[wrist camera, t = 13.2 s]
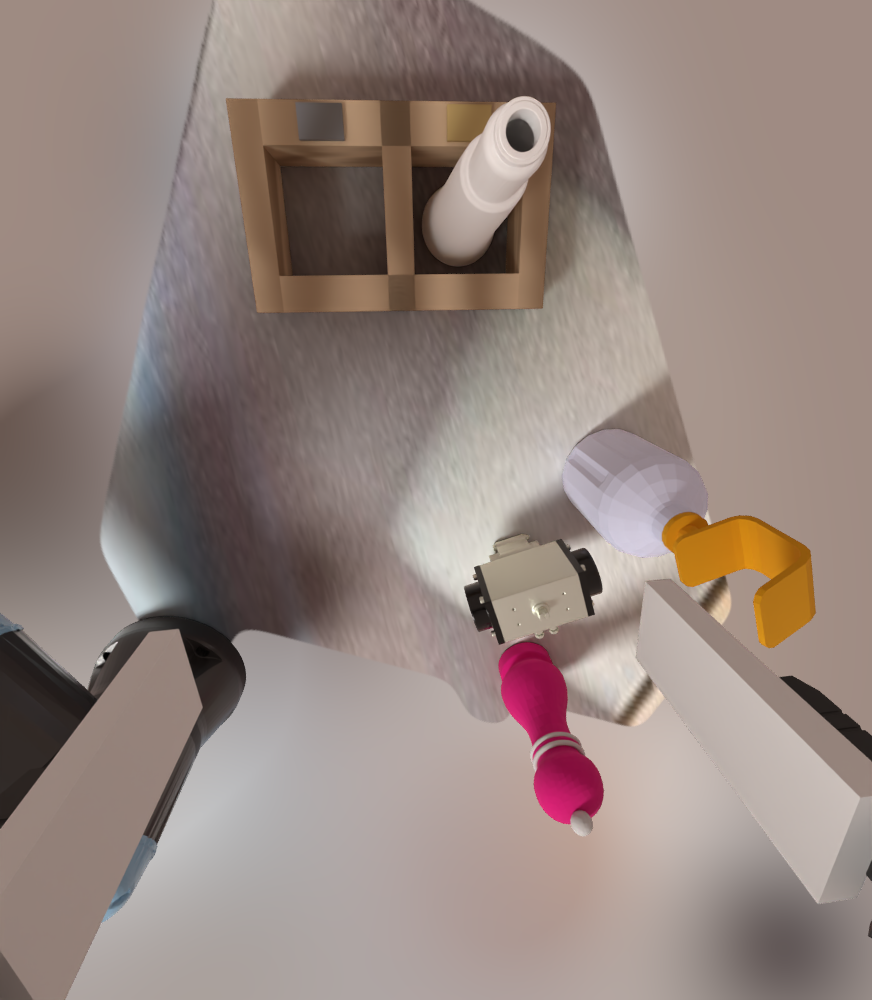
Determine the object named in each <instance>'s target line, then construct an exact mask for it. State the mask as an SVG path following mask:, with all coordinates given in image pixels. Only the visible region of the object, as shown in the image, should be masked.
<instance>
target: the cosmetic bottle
mask: <svg viewBox="0 0 872 1000" xmlns="http://www.w3.org/2000/svg"><path fill="white" fill-rule="evenodd" d="M550 133H551V124H550V119H549V115H548V113H547V111H546V109H545V108H544V106H543V105H542V104H541V103H540V102H539V101H538V100H536V99H534V98H532V97H528V96H520V97H517V98H514V99H512V100H511V101H509V102H507V103H505V104H503V105H502V106H500V107H499V108H498V109H497V110H496V111H495V112H494V113H493V114H492V115H491V117H490V118H489V120H488V122H487V124H486V126H485V128H484V131H483V133H482V134H480V135H478V136H477V137H476V138H474V139H473V140H472V141H471V143H470V144H469V145H468V147H467V148H466V149H465V151H464V152H463V154H462V155H461V157H460V159H459V160H458V162H457V164H456V165H455V167H454V169H453V171H452V173H451V174H450V176H449V178H448V180H447V181H446V183H445V185H444V186H442V187H441V188H439V189H438V190H437V191H436V192H435V193H434V194H433V195H432V196H431V197H430V199H429V200H428V202H427V204H426V206H425V209H424V212H423V217H422V233H423V237H424V241H425V243H426V245H427V247H428V249H429V250H430V252H431V253H432V254H433V256H434V257H436V258H437V259H438V260H439V261H441V262H443V263H444V264H447V265H450V266H456V267H459V266H466V265H469V264H472V263H474V262H475V261H477V260H478V259H480V258H481V257H482V256H483V255H484V254H485V252H486V251H487V250H488V248H489V246H490V244H491V242H492V239H493V236H494V232H495V231H496V229H497V228H498V227H499V226H500V224H501V223H502V222H503V221H504V220H505V218H506V217H507V216H508V215H509V213H510V212H511V211H512V209H513V208H514V207H515V205H516V204H517V203H518V201H519V200H520V198H521V197H522V195H523V193H524V191H525V189H526V186H527V183H528V179H529V178H530V177H531V176H532V175H533V174H534V173H535V172H536V171H537V170H538V168H539V167H540V165H541V164H542V162H543V160H544V158H545V155H546V152H547V148H548V143H549V139H550Z"/></svg>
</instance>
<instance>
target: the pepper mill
mask: <svg viewBox="0 0 872 1000" xmlns="http://www.w3.org/2000/svg"><path fill="white" fill-rule="evenodd" d="M499 672H500V675H501V679H502V685H501V694H502V698H503V701H504V703H505V706H506V708H507V709H508V711H509V712H510V714H511V715H512V716H513V717H514V719H515V720H516V721H517V722H518V723H519V724H520V725H522V727H523V728H524V729H525V730H526V731H527V733H528V734H529V737H530V739H531V742H532V749H531V752H530V757H531V761H532V762H533V768H534V770H535V772H536V773H535V776H534V789H535V793H536V797H537V799H538V801H539V804H540V805H541V807H542V808H543V810H544V811H545V812H546V813H547V814H548V815H549V816H550V817H551V818H553V819H554V820H556V821H558V822H561V823H563V824H571V827H572V828H573V830H574V832H575V833H577V834H578V835H580V836H587V835H589V834H590V833H591V831H592V829H593V823H592V819H591V818H592V817H593V816H594V815H595V814H596V813H597V811H598V810H599V809H600V807H601V805H602V801H603V793H604V789H603V783H602V779H601V776H600V773H599V771H598V769H597V768H596V767H595V765H594V764H593V763H592V761H591V760H589V759H588V758H587V757H585V753H584V750H583V748H582V746H581V743H580V741H579V740H578V739H577V737H575V736H574V735H572V734H571V733H570V731H569V729H568V726H567V722H566V709H567V701H568V697H567V687H566V683H565V680H564V677H563V675H562V674H561V672H560V671H559V669H558V668H556V667H555V666H554V665H553V663H552V661H551V659H550V656H549V654H548V652H547V651H546V650H545V648H543V647H542V646H540V645H538V644H535V643H530V642H524V643H519V644H516V645H514V646H512V647H510V648H508V649H507V650H506V651H505V652H504V653H503V654H502V656H501V658H500V660H499Z"/></svg>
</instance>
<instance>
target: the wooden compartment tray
mask: <svg viewBox="0 0 872 1000" xmlns="http://www.w3.org/2000/svg"><path fill="white" fill-rule="evenodd" d="M505 103H507V102H458V101H382V100H306V99H230V98H226V104H227V110H228V117H229V124H230V131H231V138H232V145H233V151H234V158H235V165H236V172H237V179H238V186H239V192H240V199H241V206H242V213H243V220H244V227H245V233H246V240H247V247H248V254H249V261H250V268H251V274H252V281H253V288H254V295H255V302H256V309H257V313H290V312H355V311H419V310H484V309H539V308H543V295H544V279H545V264H546V249H547V233H548V218H549V203H550V188H551V172H552V157H553V142H554V126H555V111H556V103H541V104H542V105H543V106H544V108H545V109H546V111H547V113H548V115H549V119H550V124H551V133H550V139H549V143H548V148H547V152H546V155H545V158H544V160H543V162H542V164H541V165H540V167H539V168H538V170H537V171H536V172H535V173H534V174H533V175H532V176H531V177H530V178H529V179H528V183H527V186H526V189H525V191H524V193H523V195H522V197H521V198H520V200H519V201H518V203H517V204H516V205H515V207H514V208H513V209H512V211H511V212H510V213H509V215H508V219H507V246H506V273H505V274H421V275H415V272H414V237H413V202H412V168H411V167H455V165H456V164H457V162H458V160H459V159H460V157H461V155H462V154H463V152H464V151H465V149H466V148H467V147H468V145H469V144H470V143H471V141H472V140H473V139H474V138H476V137H477V136H478V135H480V134H482V133H483V131H484V128H485V126H486V124H487V122H488V120H489V118H490V117H491V115H492V114H493V113H494V112H495V111H496V110H497V109H498V108H499V107H500V106H502V105H503V104H505ZM280 166H304V167H383V182H384V203H385V224H386V245H387V266H388V275H326V276H293V272H292V264H291V255H290V246H289V238H288V229H287V221H286V212H285V204H284V195H283V186H282V178H281V169H280Z"/></svg>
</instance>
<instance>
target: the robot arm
mask: <svg viewBox="0 0 872 1000" xmlns="http://www.w3.org/2000/svg"><path fill="white" fill-rule="evenodd" d="M636 659H637V660H638V662H639V663H640V664H641V666H642V667H643V669H644V670H645V671H646V673H647V674H648V675H649V677H650V678H651V679H652V681H653V682H654V683H655V685H656V686H657V687H658V689H659V690H660V691H661V693H662V694H663V696H664V697H665V698H666V700H667V701H668V702H669V704H670V705H671V706H672V708H673V709H674V710H675V712H676V713H677V714H678V716H679V717H680V718H681V720H682V721H683V722H684V724H685V725H686V727H687V728H688V729H689V731H690V732H691V733H692V735H693V736H694V737H695V739H696V740H697V741H698V743H699V744H700V745H701V747H702V748H703V749H704V751H705V752H706V754H707V755H708V756H709V757H710V759H711V760H712V762H713V763H714V764H715V766H716V767H717V768H718V770H719V771H720V772H721V774H722V775H723V777H724V778H725V779H726V781H727V782H728V783H729V784H730V786H731V787H732V789H733V790H734V791H735V793H736V794H737V795H738V797H739V798H740V799H741V801H742V802H743V803H744V805H745V806H746V808H747V809H748V810H749V812H750V813H751V814H752V816H753V817H754V818H755V820H756V821H757V822H758V824H759V825H760V826H761V828H762V829H763V830H764V832H765V833H766V835H767V836H768V837H769V839H770V840H771V841H772V843H773V844H774V845H775V847H776V848H777V849H778V851H779V852H780V853H781V855H782V856H783V858H784V859H785V860H786V862H787V863H788V864H789V866H790V867H791V868H792V869H793V871H794V872H795V874H796V875H797V876H798V878H799V879H800V880H801V882H802V883H803V884H804V886H805V887H806V888H807V890H808V891H809V893H810V894H811V895H812V897H813V898H814V899H815V901H816V902H817V903H818V904H822V903H828V902H834V901H840V900H846V899H853V898H857V897H858V895H859V892H860V890H861V888H862V886H863V884H864V881H865V879H866V877H867V876H868V877H869V879H870V880H871V881H872V736H871V735H870V734H869V733H868V732H866V731H865V730H861V728H860V725H858V724H857V723H856V722H855V721H854V720H852V719H851V718H850V717H849V716H848V715H847V714H843V713H842V710H841V709H840V708H839V707H837V706H836V705H835V704H834V703H833V702H832V701H830V700H829V699H828V698H827V697H826V696H825V695H823V694H822V693H821V692H820V691H818V690H817V689H815V688H813V687H811V686H809V685H807V684H806V683H804V682H802V681H801V680H799V679H797V678H795V677H793V676H786V677H778V676H777V675H776V674H775V673H774V672H772V670H770V669H769V668H768V667H767V666H766V665H765V664H764V663H763V662H761V661H760V660H759V659H758V658H757V657H756V656H755V655H754V654H753V653H752V652H750V651H749V650H748V649H747V648H746V647H745V646H744V645H743V644H742V643H741V642H740V641H738V640H737V639H736V638H735V637H734V636H733V635H732V634H731V633H730V632H729V631H727V630H726V629H725V628H724V627H723V626H722V625H721V624H720V623H719V622H718V621H716V620H715V619H714V618H713V617H712V616H711V615H710V614H709V613H708V612H707V611H705V610H704V609H703V608H702V607H701V606H700V605H699V604H698V603H697V602H696V601H694V600H693V599H692V598H691V597H690V596H689V595H688V594H687V593H686V592H685V591H683V590H682V589H681V588H680V587H679V586H678V585H677V584H676V583H675V582H673V581H672V580H671V579H663V580H653V581H645V588H644V595H643V603H642V611H641V619H640V627H639V634H638V642H637V650H636ZM245 682H246V671H245V666H244V663H243V660H242V658H241V656H240V654H239V652H238V651H237V649H236V648H235V647H234V646H233V644H232V643H231V642H230V641H229V640H228V639H227V638H225V637H224V636H223V635H222V634H220V633H219V632H217V631H216V630H214V629H212V628H211V627H209V626H207V625H204V624H202V623H199V622H196V621H193V620H190V619H185V618H179V617H153V618H148V619H144V620H140V621H138V622H135V623H133V624H131V625H129V626H127V627H125V628H124V629H123V630H121V631H120V632H119V633H118V634H117V635H116V636H115V637H114V638H113V639H112V640H111V642H110V643H109V644H108V645H107V646H106V647H105V648H104V650H103V651H102V652H101V654H100V656H99V658H98V660H97V661H96V664H95V667H94V670H93V673H92V676H91V679H90V682H89V685H88V688H87V689H86V688H85V687H84V686H82V685H81V684H80V683H79V682H78V681H77V680H76V679H75V678H74V677H73V676H72V675H71V674H69V673H68V672H67V671H66V670H65V669H64V668H63V667H62V666H61V665H60V664H59V663H57V662H56V661H55V660H54V659H53V658H52V657H51V656H50V655H49V654H48V653H46V652H45V651H44V650H43V649H42V648H41V647H40V646H39V645H38V644H37V643H36V642H35V641H33V640H32V639H31V638H30V637H29V636H28V635H27V634H26V633H25V632H24V631H23V627H22V626H21V625H19V624H13V623H12V622H11V621H10V620H8V619H7V618H6V617H5V616H3V615H2V614H1V613H0V1000H65V998H66V997H67V994H68V992H69V990H70V988H71V986H72V984H73V982H74V979H75V978H76V975H77V973H78V971H79V969H80V967H81V964H82V962H83V961H84V958H85V956H86V954H87V952H88V950H89V948H90V945H91V944H92V941H93V939H94V937H95V934H96V933H97V931H98V929H99V926H100V924H101V923H102V922H104V921H106V920H107V919H109V918H110V917H112V916H113V915H114V914H115V913H116V912H117V911H119V910H120V909H121V908H122V907H123V905H124V904H125V903H126V902H127V901H128V899H129V898H130V896H131V895H132V893H133V891H134V889H135V887H136V886H137V884H138V882H139V880H140V878H141V876H142V874H143V872H144V870H145V869H146V867H147V865H148V863H149V861H150V860H151V859H152V858H153V856H154V855H155V852H156V848H157V843H158V841H159V839H160V837H161V834H162V832H163V830H164V827H165V825H166V823H167V821H168V819H169V816H170V814H171V812H172V810H173V807H174V805H175V803H176V801H177V799H178V796H179V794H180V792H181V790H182V787H183V785H184V783H185V781H186V778H187V776H188V774H189V772H190V770H191V767H192V765H193V762H194V760H195V758H196V756H197V754H198V752H199V749H200V748H201V747H202V746H203V745H204V743H205V742H206V741H207V740H208V739H209V738H210V737H211V735H213V733H214V732H215V731H216V730H217V729H218V728H219V726H220V725H222V724H223V723H224V722H225V721H226V720H227V719H228V718H229V717H230V715H231V714H232V713H233V711H234V710H235V708H236V706H237V704H238V702H239V700H240V697H241V695H242V692H243V690H244V686H245ZM868 936H869V937H871V938H872V921H871V923H870V927H869V934H868Z"/></svg>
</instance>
